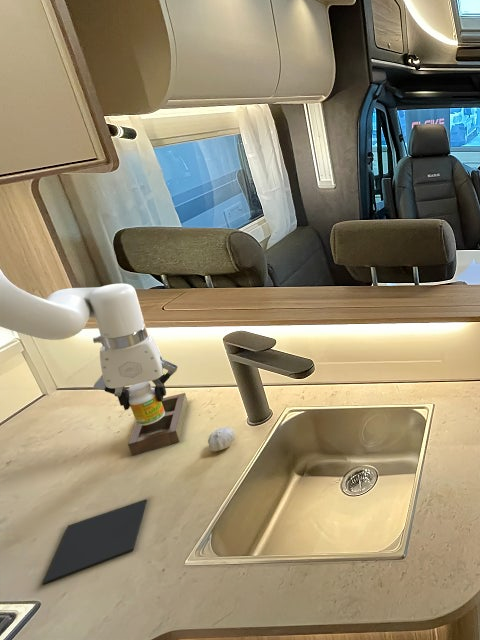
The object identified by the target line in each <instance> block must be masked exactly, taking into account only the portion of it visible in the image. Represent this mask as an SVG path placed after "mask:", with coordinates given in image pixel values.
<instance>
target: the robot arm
mask: <svg viewBox="0 0 480 640" xmlns="http://www.w3.org/2000/svg"><path fill="white" fill-rule="evenodd" d="M90 319H94V320H95V322H96V325H97V328H98V331H99V335H98V336H94V337H93V338H92V342H93V344H101V345H102V346H101V347H100V348H99V361H100V368H101V373H102V374H101V375H100V376H99V378H98V379H96V381H95V382H94V384H93V388H94V389H97V390H101V391H104V392H106V393H109V394H112V395H114V397H116V398H117V399H118V403H119V405H120V406H121V407H123V409H124V411H128V410H129V409H131V407H130V405H129V402H128V399H129V397H130V396H131V395H130V394H129V391H128V389H129V388H126V387H130V386H132V385H134V384H138V383H143V382H148V381H149V382H152V383H153V385H155V387H154V388H155V393H156V396H157V400H158V402H161V401H162V400H163V398H165V396H166V395H167V390H166V387H165V386H166V385H165V383H166V382H167V381H168V380H169V379H170V377H172V376H173V375H174V374H175V373H176V372H177V371H178V368H179V367H178V365H176V364H175V363H172V362H170V361H167V360H166V359H164V358H163V354H162V353H161V351H160V348H159V346H158V343H157V342H156V341H155V339H154V337H153V336H152V335H151V334H148V330H147V326H146V323H145V319H144V316H143V313H142V309H141V306H140V301H139V298H138V295H137V291H136V289H135V287H134V286H133V285H131V284H129V283H112V284H111V283H110V284H107V285H103V286H99V287H96V286H95V287H70V288H69V287H68V288H63V289H59V290H56V291H54V292H52V293H50V294H49V295H48V296H47V297H46V298H42V297H39V296H37V295H34V294H32V293H29V292H28V291H26V290H24V289H22V288H19V287H18V286H17V285H16V284H14V283H12V282H11V281H10V280H9V279H8V278H7V277H6V275H5V274H4V272H3V271H2V269H1V268H0V327H1V328H3V329H6V330H8V331H9V330H10V331H13V332H16V333H20V334H23V335H26V336H30V337H34V338H37V339H42V340H49V341H61V340H66V339H69V338H72V337H74V336H76V335H78V334H79V333H80V332H82V331H83V330H84V328H85V327H86V325H87V323H88V321H89V320H90ZM164 370H166V371H165V372H164ZM163 372H164V373H163ZM166 397H167V396H166Z"/></svg>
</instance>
